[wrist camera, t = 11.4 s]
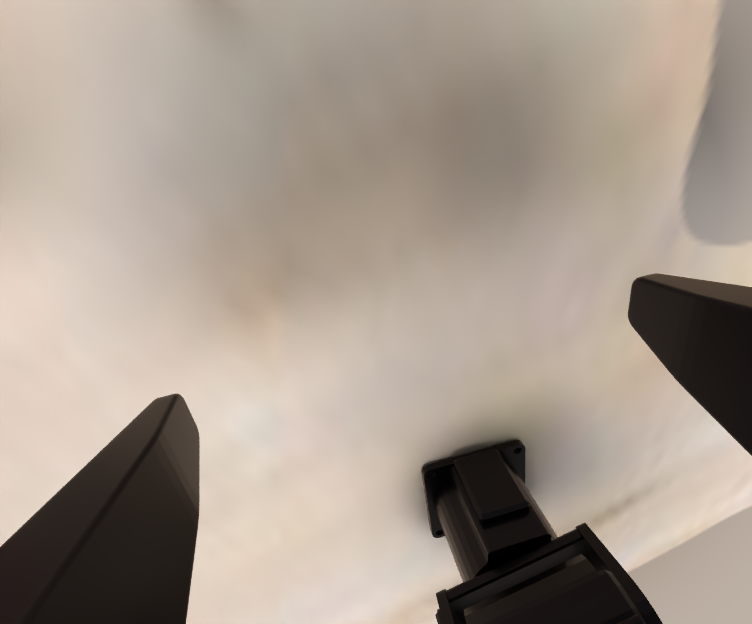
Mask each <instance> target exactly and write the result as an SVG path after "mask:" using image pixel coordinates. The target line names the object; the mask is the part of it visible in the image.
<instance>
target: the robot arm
mask: <svg viewBox="0 0 752 624" xmlns="http://www.w3.org/2000/svg"><path fill="white" fill-rule="evenodd" d="M628 318H629V322H630V324H631V325H632V327H633V328H634V329H635V330H636V332H637V333H638V334H639V335H640V337H641V338H642V339H643V340H644V341H645V343H646V344H647V345H648V346H649V348H650V349H651V350H652V351H653V352H654V354H655V355H656V356H657V357H658V358H659V360H660V361H661V362H662V363H663V365H664V366H665V367H666V368H667V369H668V371H669V372H670V373H671V374H672V375H673V377H674V378H675V379H676V380H677V381H678V382H679V383H680V384H681V385H682V386H683V387H684V388H685V390H686V391H687V392H688V393H689V394H690V395H691V396H692V397H693V398H694V399H695V400H696V401H697V402H698V403H699V404H700V405H701V406H702V407H703V408H704V409H705V410H706V411H707V412H708V413H709V414H710V415H711V416H712V417H713V418H714V419H715V420H716V421H717V422H718V423H719V424H720V425H721V426H722V427H723V428H724V429H725V430H726V431H727V432H728V433H729V434H730V435H731V436H732V437H733V438H734V439H735V440H736V441H737V442H738V443H739V444H740V445H741V446H742V447H743V448H744V449H745V450H746V451H747V452H748V453H749V454H750V455H751V456H752V287H746V286H739V285H733V284H726V283H719V282H712V281H705V280H698V279H692V278H685V277H678V276H671V275H664V274H650V275H646V276H642V277H639V278H637V279H635V280H634V282H633V283H632V287H631V294H630V302H629V309H628ZM429 473H430V474H429ZM422 478H423V484H424V491H425V497H426V504H427V510H428V517H429V523H430V530H431V532H432V535H433V537H435V538H440V537H443V536H446V539H447V541H448V544H449V547H450V549H451V552H452V554H453V557H454V559H455V562H456V565H457V567H458V570H459V572H460V575H461V578H462V580H463V583H461V584H459V585H457V586H455V587H453V588H451V589H449V590H446V589H444V590H442V591H440V592H438V593H436V596H437V600H438V604H439V608H440V609H438V610H437V611H438V612H437V614H436V615H435V616H436V619H437V622H438V624H662V622H661V620H660V618H659V617H658V615H657V614H656V612H655V610H654V609H653V608H652V606H651V605H650V603H649V601H648V600H647V598H646V597H645V596H644V594H643V593H642V592H641V590H640V589H639V587H638V586H637V585H636V583H635V582H634V581H633V580H632V579H631V577H630V576H629V575H628V574H627V572H626V571H625V570H624V569H623V568H622V566H621V565H620V564H619V563H618V562H617V560H616V559H615V558H614V557H613V556H612V554H611V553H610V552H609V551H608V550H607V548H606V547H605V546H604V545H603V544H602V542H601V541H600V540H599V539H598V538H597V536H596V535H595V534H594V533H593V532H592V530H591V529H590V528H589V527H588V526H587V524H586V523H583V524H581V525H579V526H577V527H576V529H575V530H573V531H571V532H569V533H566V534H564V535H562V536H560V537H557V535H556V533H555V532H554V530H553V529H552V527H551V525H550V524H549V522H548V521H547V519H546V517H545V516H544V514H543V513H542V511H541V509H540V508H539V506H538V505H537V503H536V501H535V500H534V498H533V497H532V495H531V493H530V492H529V490H528V489H527V487H526V485H525V446H524V445H523V444H522V442H521V441H520V440H514V441H511V442H507V443H504V444H500V445H496V446H493V447H489V448H486V449H482V450H479V451H475V452H472V453H468V454H465V455H461V456H458V457H454V458H451V459H447V460H444V461H440V462H437V463H433V464H430V465H427V466H425V467H424V468H423V470H422ZM198 520H199V432H198V429H197V426H196V424H195V421H194V419H193V417H192V415H191V413H190V411H189V409H188V407H187V404H186V402H185V400H184V398H183V397H182V396H181V395H179V394H172V395H168V396H164V397H160V398H157V399H155V400H154V401H153V402H152V403H151V404H150V405H149V406H148V407H146V408H145V409H144V410H143V411H142V412H141V413H140V414H139V415H138V416H137V417H136V418H135V419H134V420H133V421H132V422H131V423H130V424H129V425H128V426H127V427H126V428H124V429H123V430H122V431H121V432H120V433H119V434H118V435H117V436H116V437H115V438H114V439H113V440H112V441H111V442H110V443H109V444H108V445H107V446H106V447H105V448H103V449H102V450H101V451H100V452H99V453H98V454H97V455H96V456H95V457H94V458H93V459H92V460H91V461H90V462H89V463H88V464H87V465H86V466H85V467H84V468H83V469H81V470H80V471H79V472H78V473H77V474H76V475H75V476H74V477H73V478H72V479H71V480H70V481H69V482H68V483H67V484H66V485H65V486H64V487H63V488H62V489H60V490H59V491H58V492H57V493H56V494H55V495H54V496H53V497H52V498H51V499H50V500H49V501H48V502H47V503H46V504H45V505H44V506H43V507H42V508H41V509H40V510H38V511H37V512H36V513H35V514H34V515H33V516H32V517H31V518H30V519H29V520H28V521H27V522H26V523H25V524H24V525H23V526H22V527H21V528H20V529H19V530H17V531H16V532H15V533H14V534H13V535H12V536H11V537H10V538H9V539H8V540H7V541H6V542H5V543H4V544H3V545H2V546H1V547H0V624H186V618H187V610H188V602H189V594H190V586H191V578H192V570H193V562H194V554H195V546H196V538H197V530H198Z"/></svg>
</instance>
